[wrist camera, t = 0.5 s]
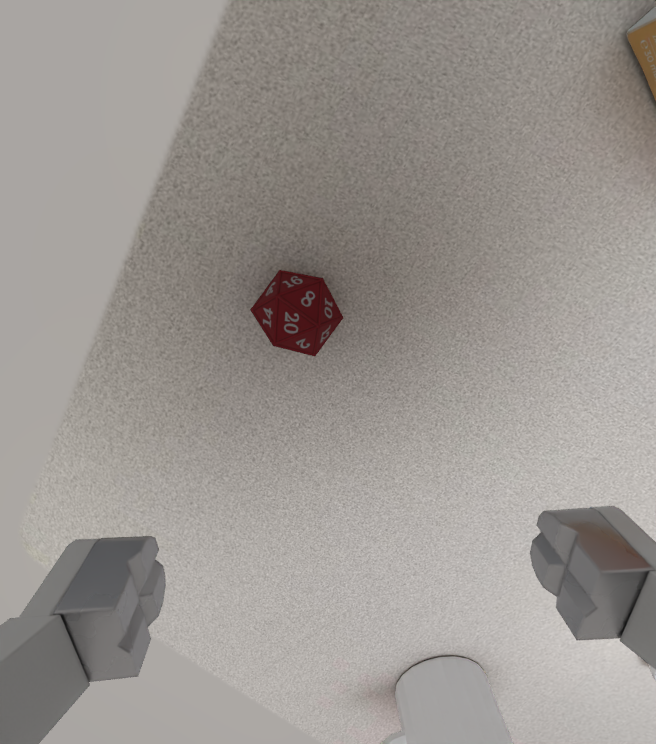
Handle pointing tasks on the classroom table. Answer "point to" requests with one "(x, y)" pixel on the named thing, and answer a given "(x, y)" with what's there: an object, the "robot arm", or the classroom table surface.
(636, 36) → the small box
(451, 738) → the mug
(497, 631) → the classroom table surface
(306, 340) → the dice
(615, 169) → the classroom table surface
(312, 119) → the classroom table surface
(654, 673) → the white oval piece
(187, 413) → the classroom table surface
